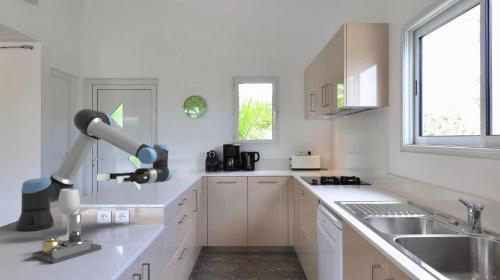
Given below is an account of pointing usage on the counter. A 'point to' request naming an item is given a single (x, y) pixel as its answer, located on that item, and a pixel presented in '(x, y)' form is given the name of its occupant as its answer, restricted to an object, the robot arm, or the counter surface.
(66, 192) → the wineglass
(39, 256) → the carrier plate
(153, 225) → the counter surface
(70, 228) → the flanged metal post
